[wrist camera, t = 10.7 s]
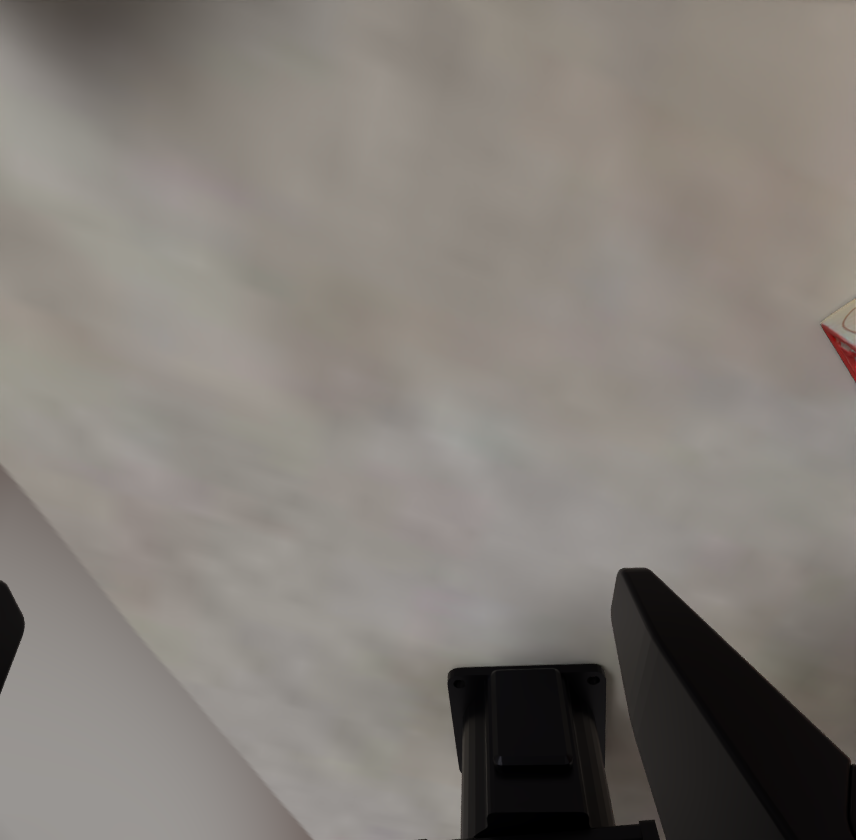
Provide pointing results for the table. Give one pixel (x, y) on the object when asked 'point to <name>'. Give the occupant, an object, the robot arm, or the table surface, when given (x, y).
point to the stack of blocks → (843, 334)
